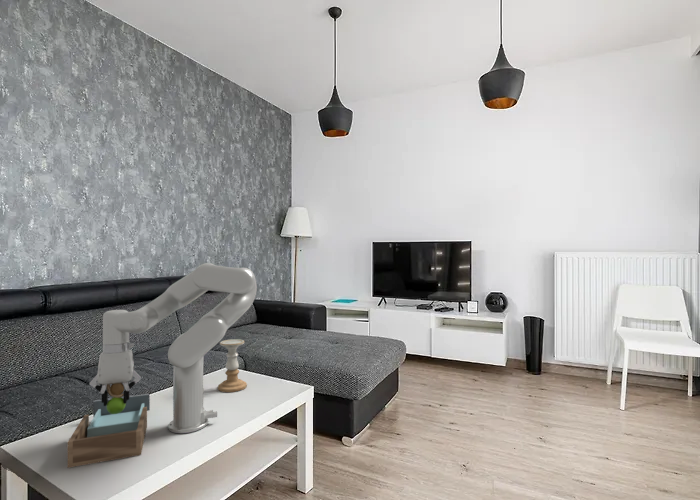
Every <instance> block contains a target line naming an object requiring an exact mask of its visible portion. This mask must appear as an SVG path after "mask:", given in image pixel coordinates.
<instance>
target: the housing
mask: <svg viewBox="0 0 700 500" xmlns="http://www.w3.org/2000/svg"><path fill="white" fill-rule="evenodd" d="M89 425H90V414H85V415H83V417H82V418H81V420H80V421H79V423H78V425H77V426H76V428H75V429H74V431H73V433H72V435H71V436H70V438H69V439H68V441H67V468H69V469H70V468H73V467H80V466H85V465H90V464H92V465H93V464H96V463H101V462H103V463H104V462H109V461H114V460H119V459H125V458H132V457H137V456H142V452H143V448H144V442H145V439H146V438H145V437H146V432H147V429H148V411H147V407H143V409H142V413H141V416H140V420H139V424H138V427H137V430H133V431H127V432H120V433H114V434H107V435H101V436H94V437H88V438H87V428H88V427H89Z"/></svg>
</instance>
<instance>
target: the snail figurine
mask: <svg viewBox="0 0 700 500" xmlns="http://www.w3.org/2000/svg"><path fill="white" fill-rule="evenodd" d="M106 389H107V392H108V396H110V397H111V399H110V398H109V399H110V400H109V401H108V403H107V410H108V412H109V413H111V414H118V413H120V412H122V411H123V410H124V408H125V405H126V403H125V404H124V399H123V398H122V397H124V390H125V387H124V384H123V383H115V384H107V387H106Z"/></svg>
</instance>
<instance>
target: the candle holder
mask: <svg viewBox="0 0 700 500" xmlns="http://www.w3.org/2000/svg"><path fill="white" fill-rule="evenodd" d="M244 344H245V340H243V339H240V338H239V339H237V338H235V339H234V338H233V339H224V340H220V341H219V345H220V346H221V347H223V348H224V347H225V349H227V351H228V352H227V353H226V355H225V356H226V358H227V361H226V364H225V369H226V371H225V375H226V380H223V381H222V382H220V383H219V384H218V386H217V390H218V391H219V392H221V393H235V392H236V391H237V392H240V390H241V391H242V390H245V389H246V388H247V386H248V384H247V382H246V381H244V380H242V379H241V378H239V377H238V375H239V373H240V370H239V366H240V365H239V361H238V356H239V353H238V352H237V349H238V348H239V347H241V346H242V345H244Z"/></svg>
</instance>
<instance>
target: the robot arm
mask: <svg viewBox="0 0 700 500" xmlns="http://www.w3.org/2000/svg"><path fill="white" fill-rule="evenodd" d="M257 289H258V288H257V279H256V275H255V273H254V272H253V271H252V270H251V269H249V268H247V267H231V266H225V265H224V266H222V265H216V264H214V263H210V262H206V263H202V264H200V265H198V266H197V267H196V268H195V269H194V270H192V271H190V273H188V274H186V275H184V276H183V277H181V278H180V279H178V280H177V281H175V282H174V283H173V284H171V285H169V286H168V288H167V289H166V290H165V291H164V292H163V293H162V294H160V295H159V296H158V297H156V298H154V299H153V300H152V301H150V302H148V303H147V304H145V305H143V307H142V306H141V307H140V308H138V309H136V310H133V311H128V310H126V309H112V310H107V311H105V312H104V313H103V315H102V352H101V353H100V354H99V359H98V366H97V374H96V375H95V376H94V377H93V379H91V381H89V386H91V387H93V388H94V389H95V390H97V391H98V392H99V393H100V394H101V400H102V403H104V406H106V405H107V403H108V399H109V394H108V392H107V388H106V387H107V384H110V385H112V384H115V383H122V384H123V385H124V391H123V394H124V395H123V397H124V404H125V403H126V402H127V400H129V396H130V390H131V389H132V388H133V387H134V386H135V385H136V384H137V383H139V381H141V379H142V377H141V376H140V374H138V372H137V371H135V368H134V367H135V366H134V364H135V363H134V355H133V350H132V348H135V342H130V334H142V333H146V332H147V331H148V330H150V329H151V328H153V327H154V326H155V325H157V324H159V323H160V322H161V321H162V320H164V319H166V318H167V317H169V316H170V315H172V314H173V313H175V312H176V311H177V310H180V309H183V308H184V307H186V306H188V305H190V303H192V302H193V301H195V300H196V299H198V298H199V297H201V296H202V295H204V294H205V293H206V292H208V291H211V292H221V293H229V294H228V295H227V296H226V297H225V298H224V299H222V301H220V303H219V304H217V305H216V306H215V307H213V309H211V310H210V311H209V312H207V313H205V314H204V315H203V316H202V317H200V319H198V321H196V322H195V324H193V325H192V326H191V327H189V328H188V330H186V331H185V332H184V333H182V334H180V335H179V336H177V337H176V338H175V339H174V341H173V342H172V343H171V345H170V346H169V347H168V351H167V357H168V358H167V359H168V361H169V363H170V365H172V366H173V371H172V372H173V374H172V375H173V376H172V377H173V379H172V380H173V382H172V384H173V385H172V390H173V391H172V392H173V393H172V395H173V396H172V401H173V403H172V404H173V405H172V412H173V413H172V414H173V416H172V421H170V422H169V423H168V425H167V427H168V429H167V430H169V431H170V432H171V433H174V434H175V433H176V434H186V433H187V434H188V433H193V432H196V431H199V430H202V429H203V428H205V427H206V426H207V425H208V424H209V419H215V418H218V411H214V410H213V409H211V410H205V407H204V356H206V354H207V353H208V352H209V351H211V350H212V349H214V347H215V346H217V344H218V343H220V342H221V341H222V340H223V338H224V337H225V335H226V332H227V330H229V329H230V327H231V326H233V325H234V324H235V323H236V322H237V321H239V319H240V318H241V317H242V316H243V315H244V314H245V313H246V312H247V311H248V310H249V309H250V308H251V306H252V305H253V303H254V301H255V299H256V297H257V296H256V295H257V292H258V291H257ZM133 378H134V379H133Z"/></svg>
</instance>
